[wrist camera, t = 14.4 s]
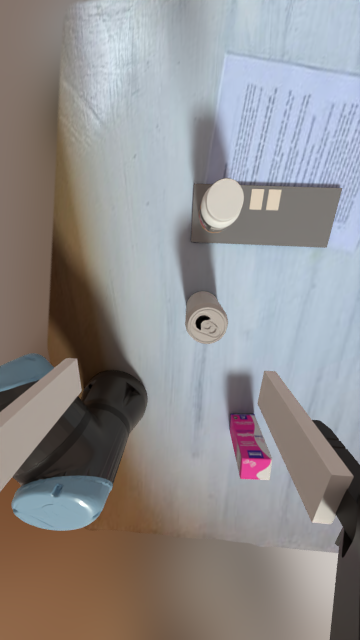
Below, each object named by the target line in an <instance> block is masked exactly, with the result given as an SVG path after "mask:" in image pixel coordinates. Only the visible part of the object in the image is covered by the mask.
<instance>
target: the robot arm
mask: <svg viewBox="0 0 360 640" xmlns="http://www.w3.org/2000/svg"><path fill="white" fill-rule="evenodd" d="M81 391H82V390H81V383H80V376H79V369H78V362H77V359H73V358H66V359H65V360H64V361H62V362H61V363H60V364H59V365H57V366H56V367H55V368H54V367H53V366H52V365H51V364H50V363H49V362H48V361H47V360H46V359H45V358H44V357H43V356H41V355H39V354H34V353H33V354H27V355H24V356H22V357H19V358H17V359H15V360H13V361H10V362H8V363H6V364H4V365H1V366H0V491H1V490H2V489H3V487H4V486H5V485H6V484H7V482H8V481H9V480H10V479H11V478H12V477H13V478H14V479H15V480H17V481H18V482H19V483H20V484H21V487H20V488H19V489H18V490H17V491H16V493H15V496H14V499H13V500H12V508H13V512H14V514H15V515H16V516H17V517H18V518H20V519H21V520H23V521H24V522H26V523H28V524H30V525H33V526H36V527H39V528H43V529H48V530H61V531H62V530H73V529H78V528H82V527H84V526H86V525H88V524H90V523H92V522H93V521H94V520H95V519H96V518H97V517H98V516H99V515H100V513H101V511H102V509H103V507H104V504H105V502H106V499H107V497H108V494H109V492H110V491H111V489H112V486H113V482H114V479H115V476H116V473H117V470H118V467H119V464H120V461H121V458H122V455H123V452H124V449H125V446H126V443H127V439H128V436H129V434H130V432H131V431H132V430H133V428H134V427H135V426H136V425H137V423H138V422H139V421H140V420H141V418H142V417H143V415H144V413H145V410H146V406H147V393H146V391H145V389H144V387H143V385H142V384H141V383H140V382H139V381H138V380H137V379H136V378H134V377H133V376H131V375H129V374H127V373H124V372H120V371H105V372H102V373H99V374H97V375H96V376H94V377H93V378H92V379H91V380H90V382H89V383H88V384H87V385H86V387H85V389H84V391H83V394H82V397H81V399H80V398H79V397H78V395H79V394H80V392H81ZM258 405H259V408H260V410H261V412H262V414H263V416H264V419H265V421H266V423H267V425H268V427H269V429H270V432H271V434H272V436H273V438H274V440H275V443H276V445H277V447H278V449H279V451H280V453H281V456H282V458H283V460H284V462H285V464H286V467H287V469H288V471H289V473H290V475H291V478H292V480H293V482H294V484H295V486H296V488H297V491H298V493H299V495H300V497H301V499H302V502H303V504H304V506H305V508H306V510H307V512H308V515H309V517H310V519H311V521H312V522H313V523H324V524H332V522H333V520H334V518H335V516H336V515H337V517H338V519H339V520H340V522H341V524H342V526H343V528H342V530H341V532H340V534H339V536H338V538H337V540H336V542H335V544H336V545H337V546H339V554H338V564H337V573H336V583H335V593H334V604H333V613H332V623H331V632H330V640H360V465H359V463H358V462H357V461H356V460H355V458H354V457H353V456H352V455H351V454H350V452H349V451H348V450H347V449H346V448H345V446H344V445H343V444H342V442H341V441H339V439H338V438H337V436H336V435H335V434H334V433H333V431H332V430H331V429H330V428H329V427H327V426H326V425H325V424H324V423H322V422H321V421H319V420H311V418H310V417H309V416H308V414H307V413H306V412H305V410H304V409H303V408H302V406H301V405H300V404H299V402H298V401H297V400H296V398H295V397H294V395H293V394H292V393H291V391H290V390H289V389H288V387H287V386H286V385H285V383H284V382H283V381H282V379H281V378H280V377H279V375H278V374H277V373H276V372H275V371H264V375H263V380H262V385H261V389H260V394H259V399H258Z"/></svg>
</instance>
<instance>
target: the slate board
mask: <svg viewBox="0 0 360 640" xmlns="http://www.w3.org/2000/svg"><path fill="white" fill-rule="evenodd" d="M212 185H213V184H194V197H193V215H192V233H191V242H202V243H226V244H251V245H275V246H299V247H324V248H325V247H327V244H328V240H329V237H330V233H331V229H332V225H333V221H334V217H335V214H336V210H337V206H338V202H339V198H340V195H341V191H342V188H320V187H287V186H253V185H240V186H241V188H242V190H243V194H244V201H243V205H242V208H241V211H240V214H239V216H238V218H237V219H236V220H235V221H234V222H233V223H232V224H231V225H230V226H228V227H227V228H226V229H224V230H223V231H221V232H218V233H211V232H208V231H206V230H205V229H204V228H203V227H202V225H201V223H200V221H199V210H200V206H201V202H202V198H203V196H204V194H205V193H206V191H207V190H208V189H209V188H210V187H211V186H212Z"/></svg>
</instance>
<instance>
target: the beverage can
mask: <svg viewBox="0 0 360 640" xmlns="http://www.w3.org/2000/svg"><path fill="white" fill-rule="evenodd" d="M185 325H186V329H187V332H188V333H189V335H190V336H191V337H192V338H193V339H194V340H196V341H197V342H200V343H203V344H210V343H214V342H216V341H218V340H220V339H221V338H222V337H223V335H224V334H225V332H226V329H227V326H228V319H227V315H226V313H225V311H224V310H223V308H222V307H221V305H220V304H219V302H218V300H217V299H216V297H215V296H214V295H213V294H211V293H209V292H206V291H200V292H197V293H194V294H193V295H192V296H191V297H190V298H189V300H188V302H187V306H186V321H185Z"/></svg>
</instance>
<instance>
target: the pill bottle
mask: <svg viewBox="0 0 360 640" xmlns="http://www.w3.org/2000/svg"><path fill="white" fill-rule="evenodd" d="M243 201H244V194H243V190H242V188H241V186H240V185H239V183H238V182H236V181H235V180H233V179H229V178H224V179H221V180H218V181H217V182H215V183H214V184H213V185H212V186H211V187H210V188H209V189H208V190H207V191H206V193H205V194H204V196H203V198H202V202H201V206H200V210H199V221H200V223H201V225H202V227H203V228H204V229H205V230H206V231H208V232H211V233H218V232H221V231H223V230H224V229H226V228H227V227H228V226H230V225H231V224H232V223H233V222H234V221H235V220H236V219H237V218H238V216H239V214H240V211H241V208H242V205H243Z"/></svg>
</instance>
